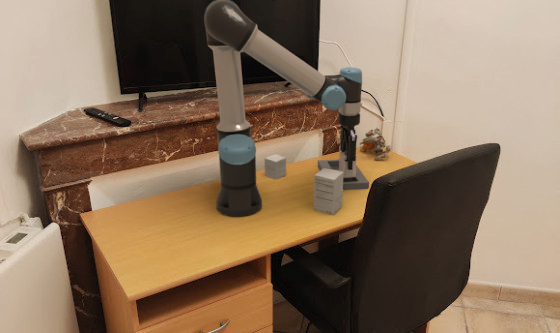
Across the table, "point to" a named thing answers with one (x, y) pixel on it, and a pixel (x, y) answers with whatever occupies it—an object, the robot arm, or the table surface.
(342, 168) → the plug
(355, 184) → the dark grey compartment tray
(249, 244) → the table surface
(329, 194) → the supplement box
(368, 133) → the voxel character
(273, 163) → the product box
